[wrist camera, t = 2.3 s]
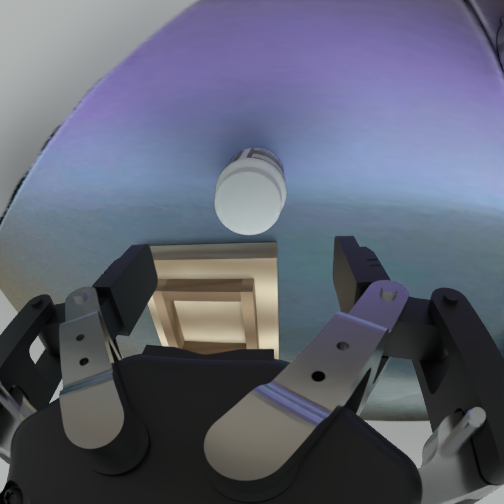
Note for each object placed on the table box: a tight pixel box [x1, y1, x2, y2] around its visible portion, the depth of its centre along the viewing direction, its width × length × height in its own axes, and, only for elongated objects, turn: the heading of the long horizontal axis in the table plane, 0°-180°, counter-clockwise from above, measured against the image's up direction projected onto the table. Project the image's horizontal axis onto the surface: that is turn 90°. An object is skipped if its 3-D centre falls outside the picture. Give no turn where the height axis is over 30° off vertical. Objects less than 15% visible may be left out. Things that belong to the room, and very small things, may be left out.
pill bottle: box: [215, 148, 287, 235], centre depth 21 cm, size 5×5×8 cm
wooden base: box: [148, 242, 279, 359], centre depth 29 cm, size 13×13×5 cm
